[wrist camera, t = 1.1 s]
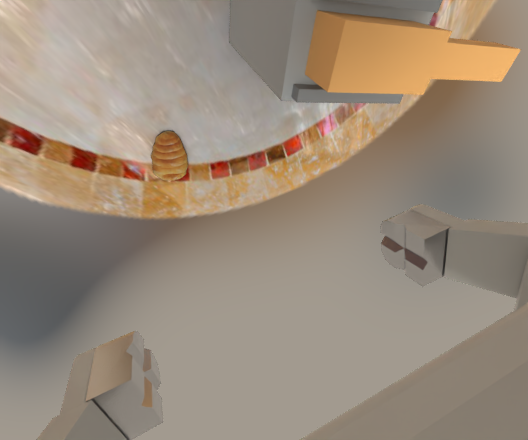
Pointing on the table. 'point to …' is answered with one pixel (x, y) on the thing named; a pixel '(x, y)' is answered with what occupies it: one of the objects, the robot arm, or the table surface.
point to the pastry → (169, 157)
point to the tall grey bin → (306, 41)
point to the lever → (396, 55)
